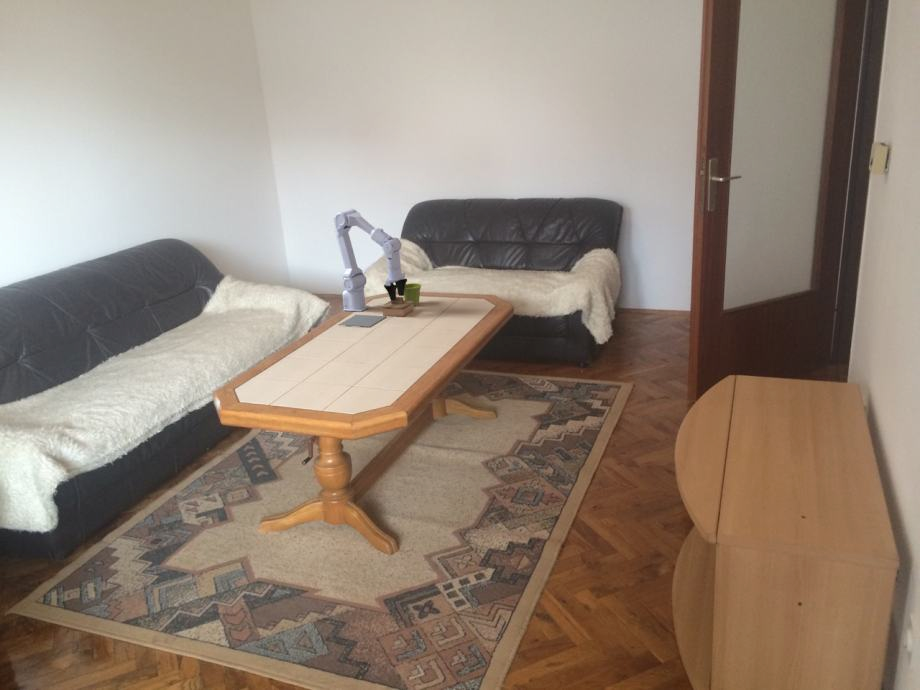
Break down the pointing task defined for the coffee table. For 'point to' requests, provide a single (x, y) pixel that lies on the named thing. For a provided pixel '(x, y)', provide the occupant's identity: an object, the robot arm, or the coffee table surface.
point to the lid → (397, 304)
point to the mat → (363, 320)
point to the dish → (398, 311)
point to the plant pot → (412, 292)
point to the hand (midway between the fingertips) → (397, 297)
